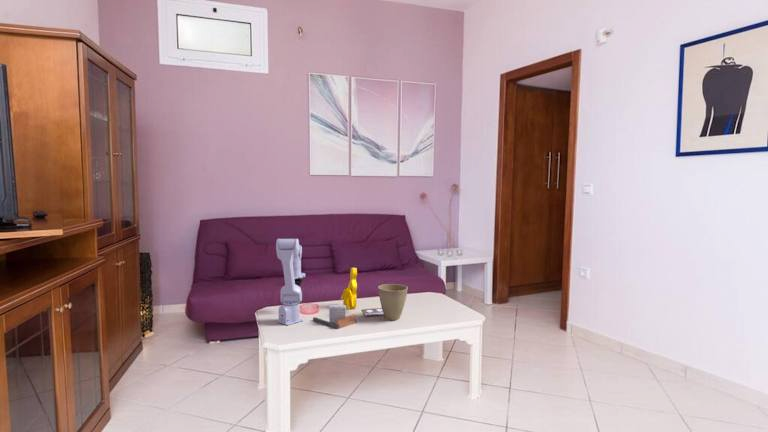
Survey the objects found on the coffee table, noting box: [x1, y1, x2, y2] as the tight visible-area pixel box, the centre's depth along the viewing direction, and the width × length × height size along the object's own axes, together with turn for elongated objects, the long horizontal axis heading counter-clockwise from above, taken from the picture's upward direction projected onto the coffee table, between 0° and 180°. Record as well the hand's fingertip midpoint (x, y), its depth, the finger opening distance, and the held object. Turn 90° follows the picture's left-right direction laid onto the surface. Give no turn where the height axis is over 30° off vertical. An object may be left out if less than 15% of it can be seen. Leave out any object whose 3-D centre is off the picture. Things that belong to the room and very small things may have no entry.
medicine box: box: [328, 304, 347, 324], centre depth 211 cm, size 8×4×9 cm, turn 92°
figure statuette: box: [340, 267, 358, 310], centre depth 238 cm, size 18×8×22 cm, turn 26°
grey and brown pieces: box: [312, 314, 358, 330], centre depth 214 cm, size 12×18×4 cm
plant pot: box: [377, 283, 409, 321], centre depth 220 cm, size 15×15×16 cm
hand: (295, 293), depth 228 cm, fingers closed
